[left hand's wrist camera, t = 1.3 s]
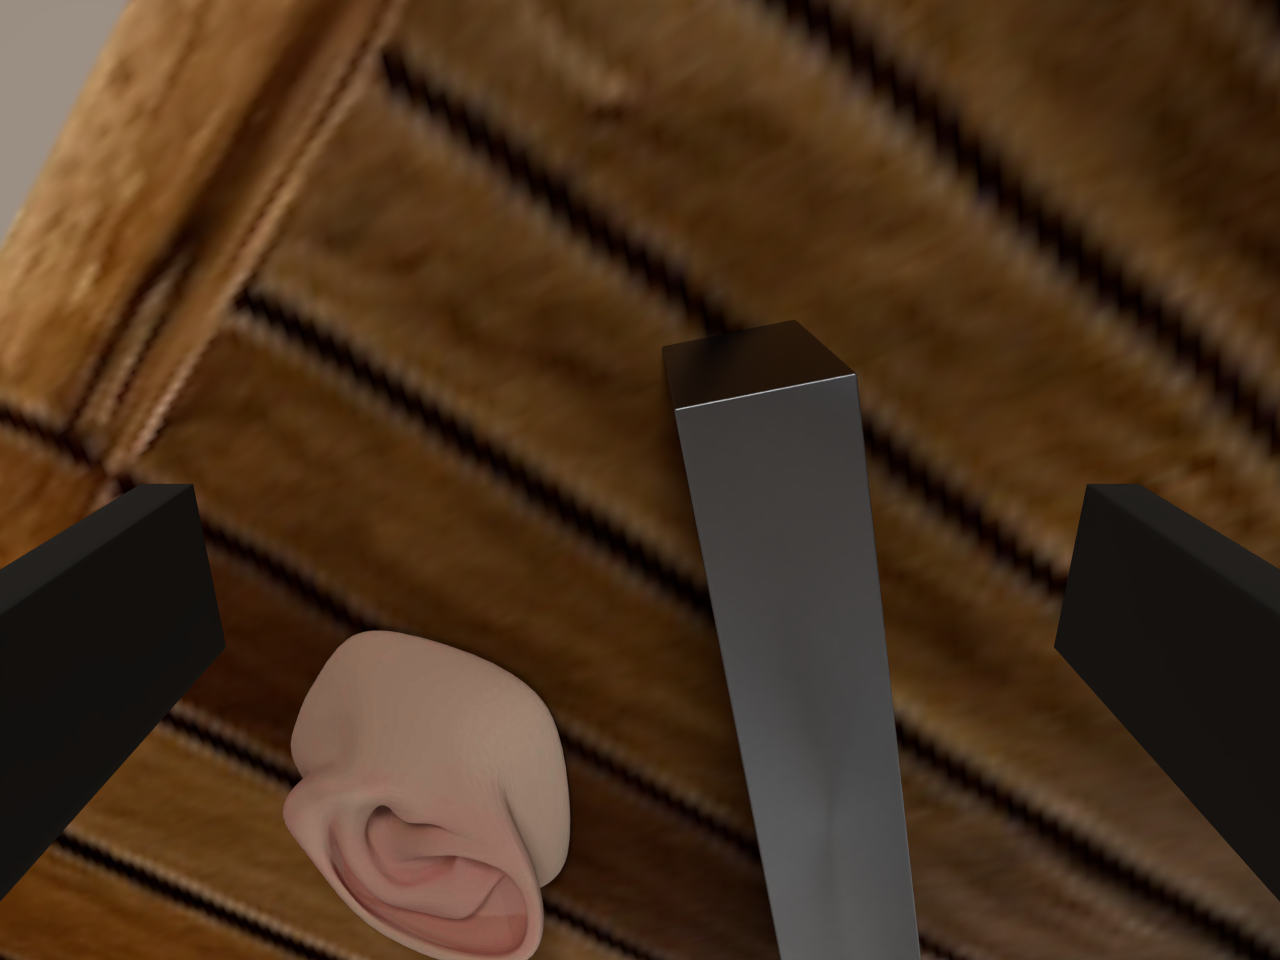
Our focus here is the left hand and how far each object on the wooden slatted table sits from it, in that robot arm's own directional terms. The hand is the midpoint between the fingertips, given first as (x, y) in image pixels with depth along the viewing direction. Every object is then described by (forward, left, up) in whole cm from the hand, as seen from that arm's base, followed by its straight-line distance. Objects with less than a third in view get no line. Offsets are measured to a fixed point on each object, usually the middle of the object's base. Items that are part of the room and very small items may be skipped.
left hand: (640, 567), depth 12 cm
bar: (-12, +8, -16) cm, 22 cm away
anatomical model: (-3, +19, -16) cm, 25 cm away
